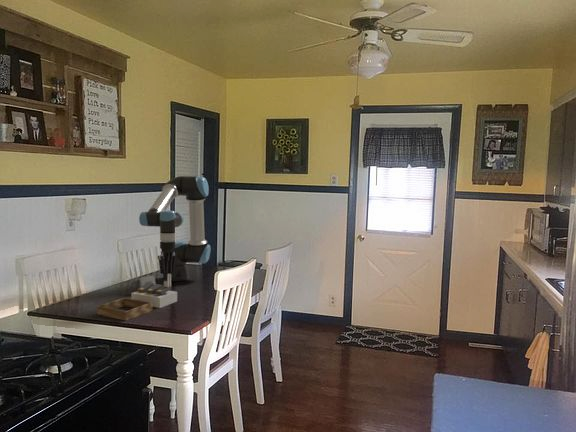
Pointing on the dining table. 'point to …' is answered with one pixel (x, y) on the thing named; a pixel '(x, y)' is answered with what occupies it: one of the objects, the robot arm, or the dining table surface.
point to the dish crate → (113, 312)
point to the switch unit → (156, 298)
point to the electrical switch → (146, 280)
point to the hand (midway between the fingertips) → (167, 286)
